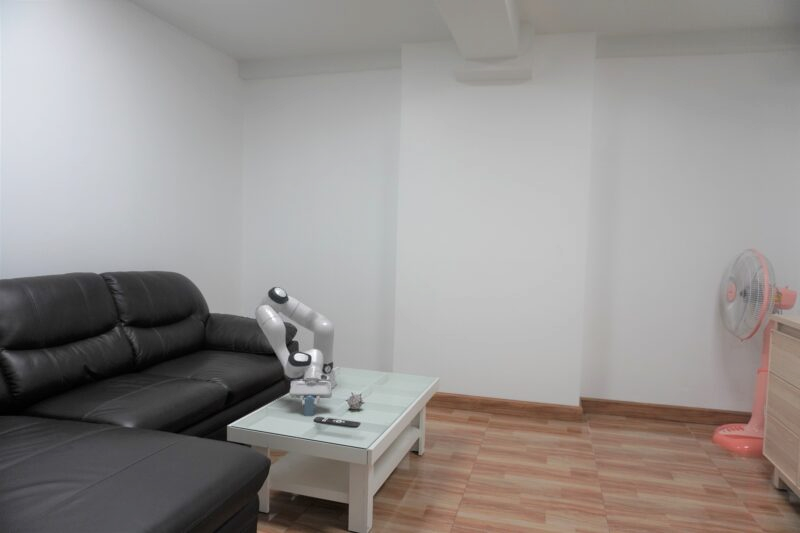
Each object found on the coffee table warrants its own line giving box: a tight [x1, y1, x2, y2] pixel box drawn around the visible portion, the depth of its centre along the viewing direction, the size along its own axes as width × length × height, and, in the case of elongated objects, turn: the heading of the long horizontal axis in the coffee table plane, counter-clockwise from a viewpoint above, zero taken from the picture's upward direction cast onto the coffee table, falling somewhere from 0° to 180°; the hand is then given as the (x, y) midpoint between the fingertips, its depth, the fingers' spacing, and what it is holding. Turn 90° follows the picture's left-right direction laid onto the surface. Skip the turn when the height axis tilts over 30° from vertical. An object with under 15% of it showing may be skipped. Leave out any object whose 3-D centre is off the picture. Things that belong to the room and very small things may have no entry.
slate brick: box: [304, 395, 315, 417], centre depth 260 cm, size 4×4×9 cm
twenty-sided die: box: [345, 392, 366, 412], centre depth 269 cm, size 9×8×10 cm
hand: (309, 405), depth 259 cm, fingers closed on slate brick, 4 cm apart
